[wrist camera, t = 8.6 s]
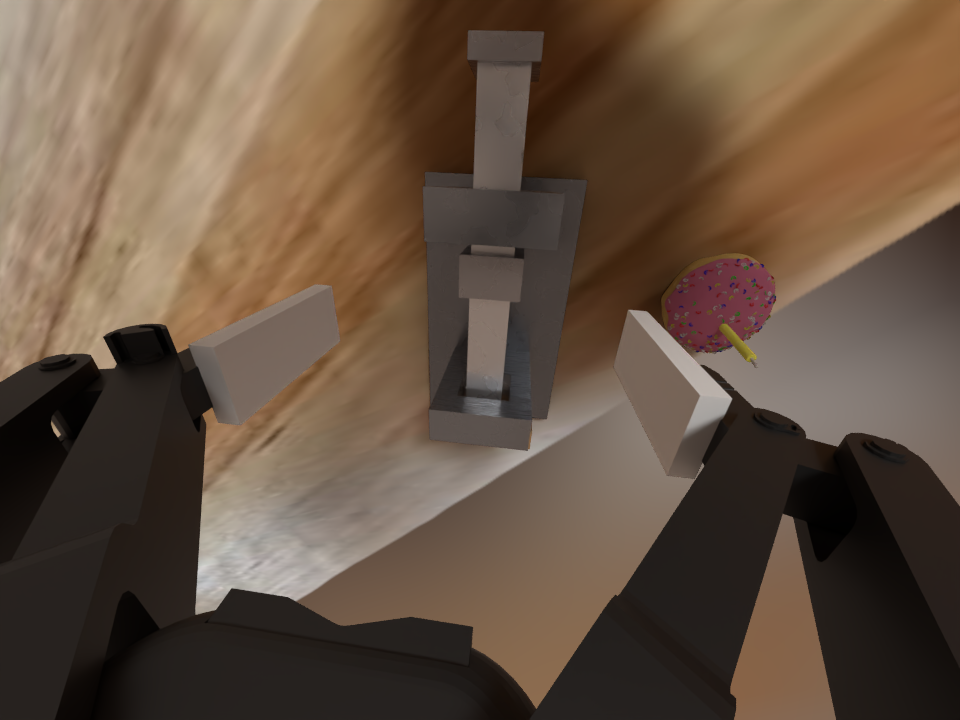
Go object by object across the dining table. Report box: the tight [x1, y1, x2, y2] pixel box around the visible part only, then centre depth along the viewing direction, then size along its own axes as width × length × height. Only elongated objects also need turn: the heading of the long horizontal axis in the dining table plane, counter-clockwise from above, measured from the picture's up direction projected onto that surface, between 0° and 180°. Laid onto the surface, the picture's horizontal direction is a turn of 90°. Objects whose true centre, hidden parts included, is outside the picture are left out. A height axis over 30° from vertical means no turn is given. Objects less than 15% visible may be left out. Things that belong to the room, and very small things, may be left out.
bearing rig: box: [423, 172, 587, 451], centre depth 30 cm, size 25×14×14 cm, turn 177°
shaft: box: [459, 30, 544, 400], centre depth 25 cm, size 24×4×4 cm, turn 177°
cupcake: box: [661, 253, 776, 368], centre depth 28 cm, size 9×8×12 cm
